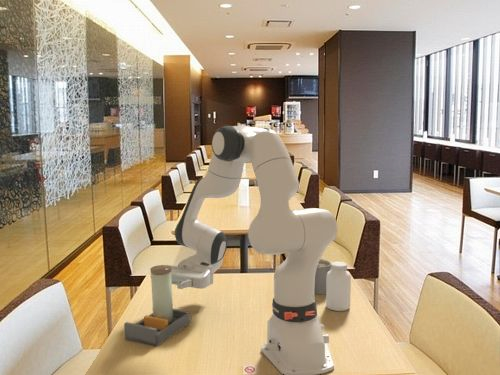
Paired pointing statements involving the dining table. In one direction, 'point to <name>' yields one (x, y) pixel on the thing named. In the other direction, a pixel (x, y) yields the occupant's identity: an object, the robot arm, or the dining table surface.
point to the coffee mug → (321, 276)
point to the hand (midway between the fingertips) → (166, 284)
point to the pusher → (155, 322)
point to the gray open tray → (153, 335)
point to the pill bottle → (338, 287)
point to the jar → (162, 292)
